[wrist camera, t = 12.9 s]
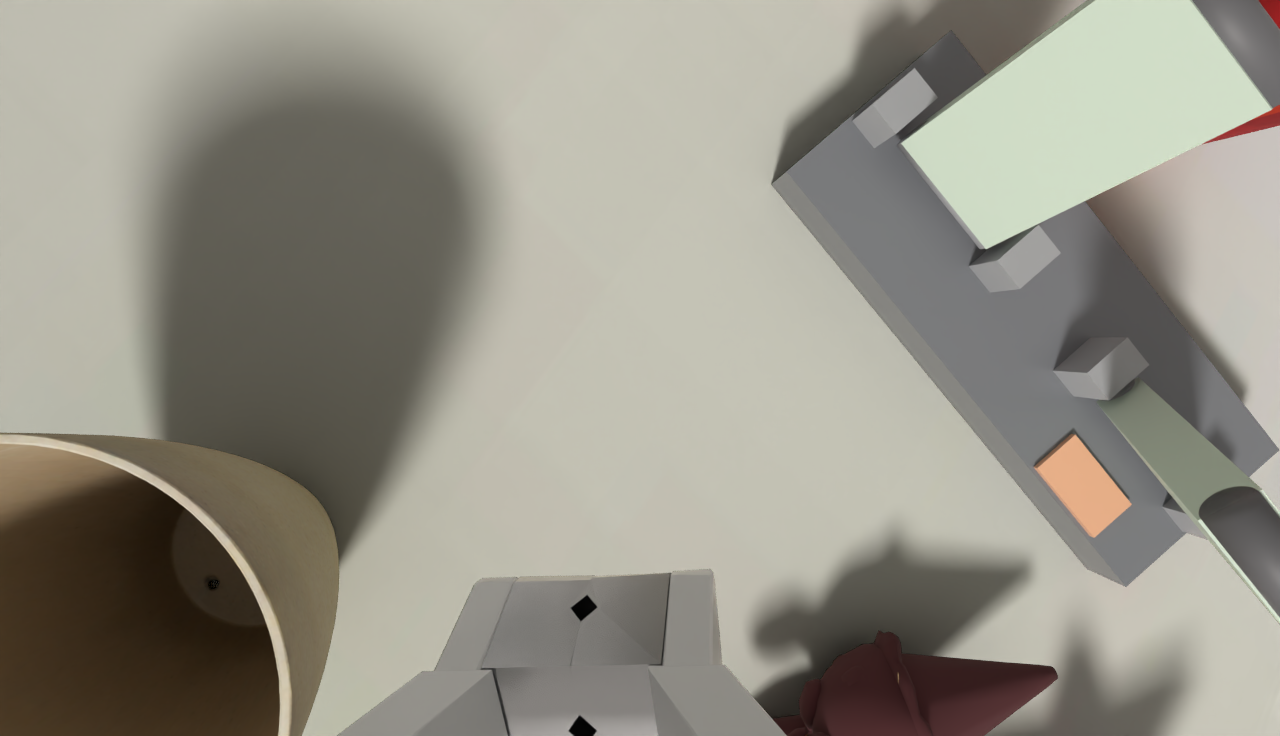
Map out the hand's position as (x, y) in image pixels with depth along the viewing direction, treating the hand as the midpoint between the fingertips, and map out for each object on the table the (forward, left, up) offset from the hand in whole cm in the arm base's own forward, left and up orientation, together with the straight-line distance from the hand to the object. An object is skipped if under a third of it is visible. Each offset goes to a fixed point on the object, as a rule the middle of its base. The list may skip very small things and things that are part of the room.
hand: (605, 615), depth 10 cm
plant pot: (-5, -16, -27) cm, 32 cm away
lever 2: (+18, +19, -23) cm, 35 cm away
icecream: (+20, +2, -27) cm, 34 cm away
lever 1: (+3, +19, -23) cm, 30 cm away
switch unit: (+10, +19, -27) cm, 34 cm away
